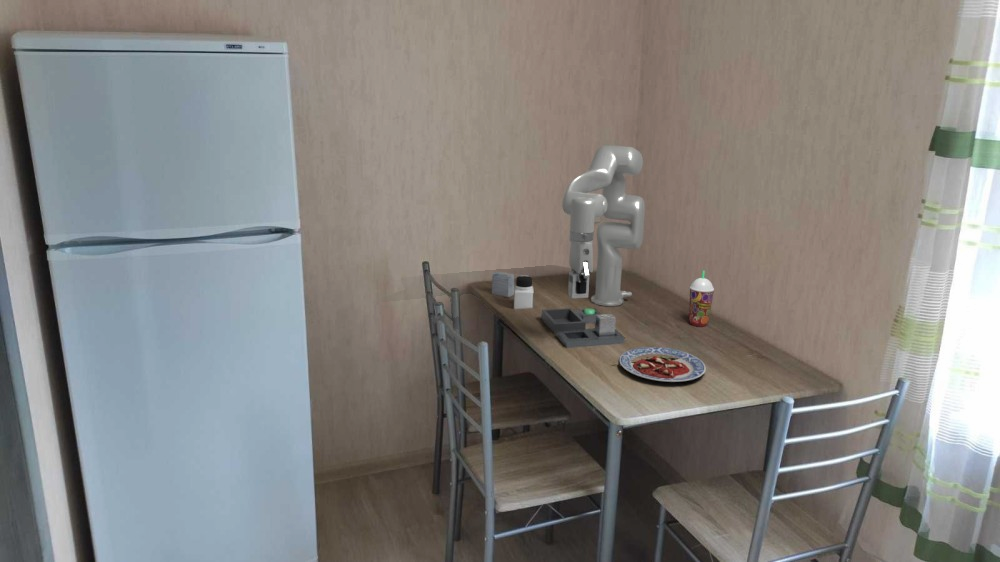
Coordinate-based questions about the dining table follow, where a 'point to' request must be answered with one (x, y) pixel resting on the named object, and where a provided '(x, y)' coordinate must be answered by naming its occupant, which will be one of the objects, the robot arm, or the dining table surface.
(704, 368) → the ceramic plate
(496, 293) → the medicine box
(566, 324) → the tote
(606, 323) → the billet
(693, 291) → the smoothie
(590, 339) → the pallet
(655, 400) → the dining table surface
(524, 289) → the medicine bottle
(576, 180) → the robot arm
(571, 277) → the billet
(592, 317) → the button housing
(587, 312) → the button
